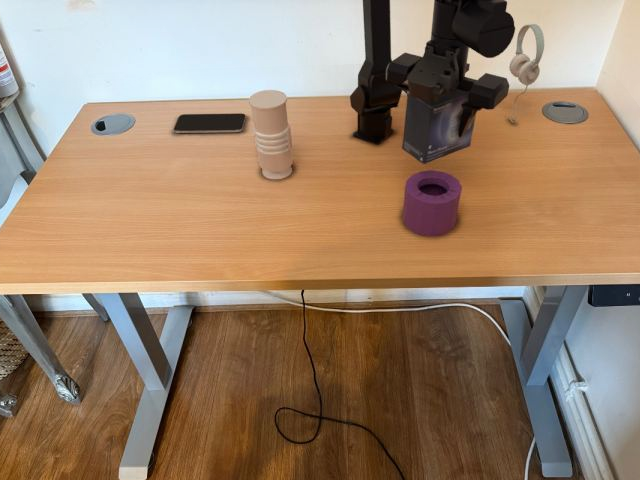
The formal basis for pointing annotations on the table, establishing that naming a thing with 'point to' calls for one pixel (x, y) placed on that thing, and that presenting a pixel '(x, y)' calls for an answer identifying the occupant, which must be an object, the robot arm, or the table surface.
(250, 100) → the beige ribbed cylinder
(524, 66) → the headphones
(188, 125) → the smartphone
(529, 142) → the table surface
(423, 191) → the jar
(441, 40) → the robot arm
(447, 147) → the small box
